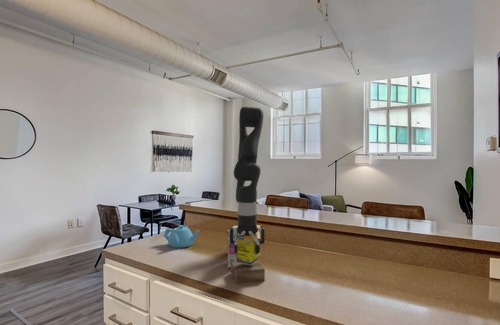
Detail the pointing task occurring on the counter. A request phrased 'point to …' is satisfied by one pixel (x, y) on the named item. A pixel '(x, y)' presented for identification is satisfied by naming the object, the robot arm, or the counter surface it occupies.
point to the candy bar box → (231, 249)
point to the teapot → (180, 236)
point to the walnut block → (247, 272)
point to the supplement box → (247, 249)
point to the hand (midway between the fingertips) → (247, 253)
